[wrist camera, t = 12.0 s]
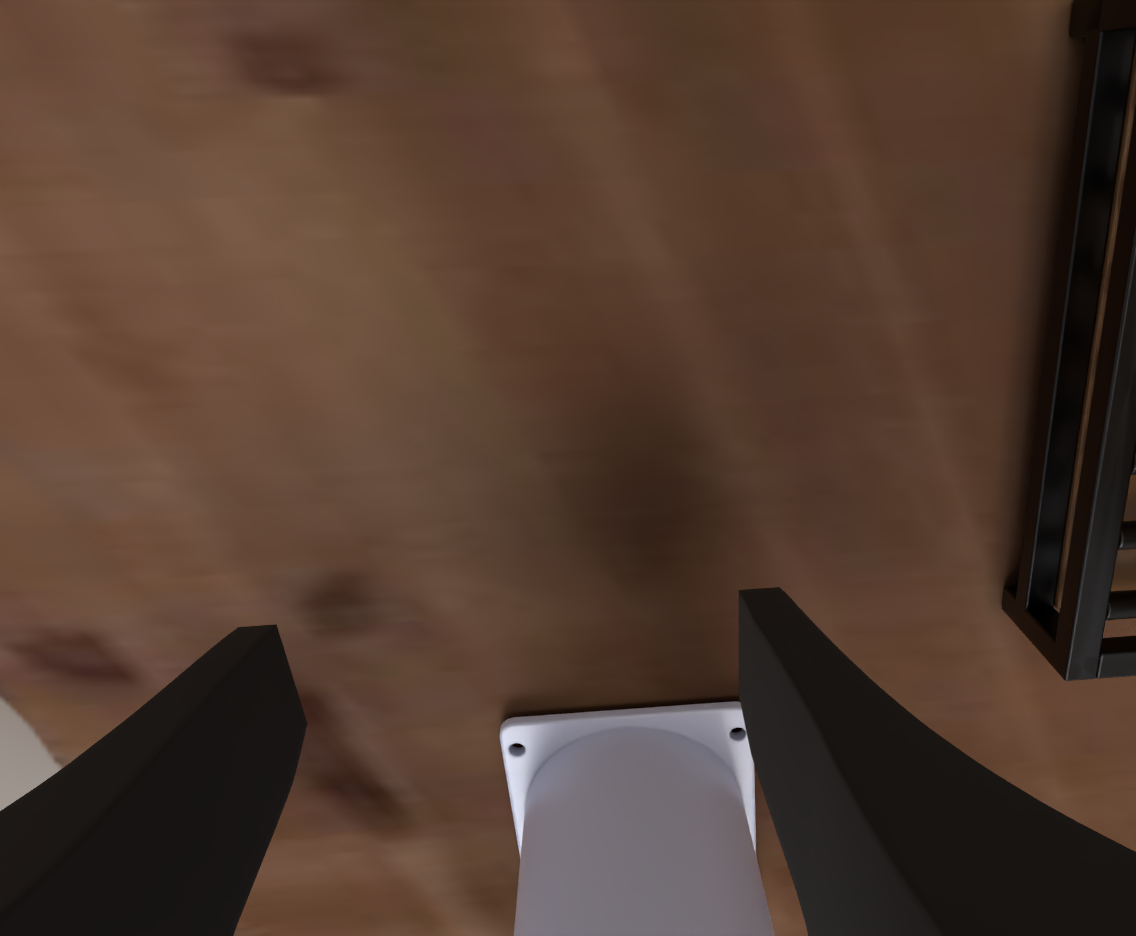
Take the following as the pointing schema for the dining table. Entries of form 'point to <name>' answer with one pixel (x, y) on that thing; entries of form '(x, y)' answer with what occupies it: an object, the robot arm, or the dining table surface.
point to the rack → (1089, 380)
